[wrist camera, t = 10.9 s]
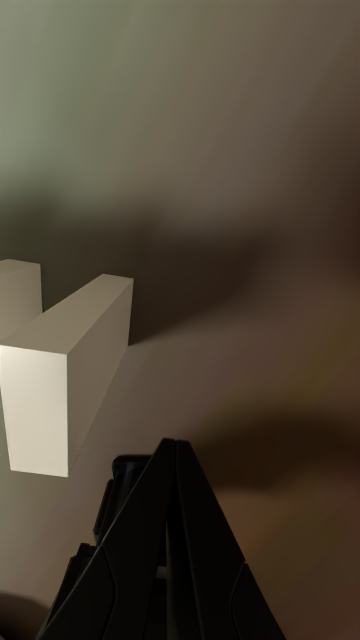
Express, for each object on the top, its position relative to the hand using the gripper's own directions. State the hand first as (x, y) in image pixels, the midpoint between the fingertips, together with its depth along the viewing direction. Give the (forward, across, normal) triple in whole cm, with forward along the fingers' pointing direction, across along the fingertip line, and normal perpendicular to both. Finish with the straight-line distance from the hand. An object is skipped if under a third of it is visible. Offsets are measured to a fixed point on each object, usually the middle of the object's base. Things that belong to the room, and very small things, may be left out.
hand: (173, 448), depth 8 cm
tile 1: (+10, +4, 0) cm, 11 cm away
